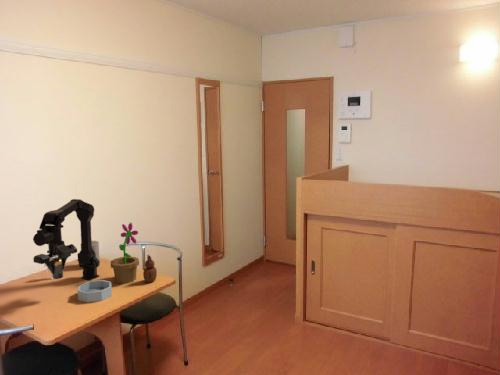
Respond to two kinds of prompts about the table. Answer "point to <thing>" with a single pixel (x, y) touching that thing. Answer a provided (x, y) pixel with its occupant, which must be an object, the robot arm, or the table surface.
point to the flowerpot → (126, 259)
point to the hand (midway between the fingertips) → (57, 272)
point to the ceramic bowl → (94, 291)
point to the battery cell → (57, 268)
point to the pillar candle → (95, 248)
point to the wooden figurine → (149, 270)
